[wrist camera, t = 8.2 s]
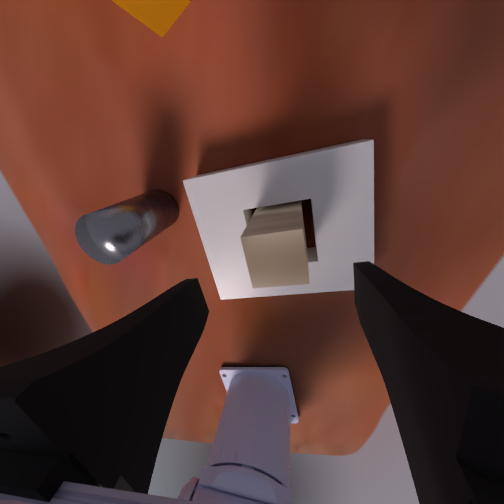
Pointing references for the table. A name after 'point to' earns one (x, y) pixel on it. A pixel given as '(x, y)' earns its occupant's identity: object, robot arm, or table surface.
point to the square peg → (276, 246)
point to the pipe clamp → (155, 12)
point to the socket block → (283, 191)
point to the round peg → (125, 225)
